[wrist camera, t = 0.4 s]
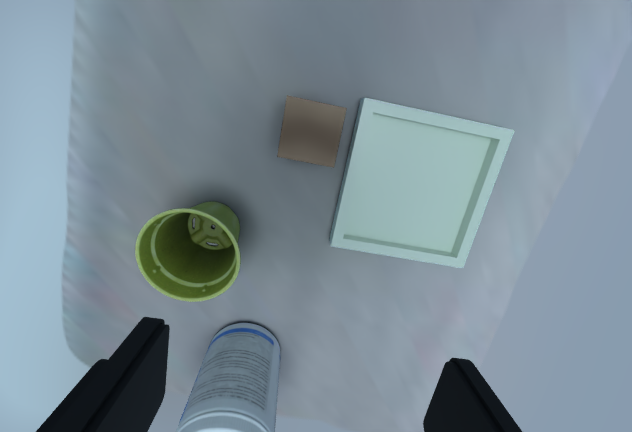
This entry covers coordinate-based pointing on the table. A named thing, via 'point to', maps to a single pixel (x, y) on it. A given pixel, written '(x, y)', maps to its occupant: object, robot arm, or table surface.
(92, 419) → the robot arm
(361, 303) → the table surface
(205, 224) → the plant pot
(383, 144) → the sage tray
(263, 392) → the supplement tub
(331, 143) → the walnut block
